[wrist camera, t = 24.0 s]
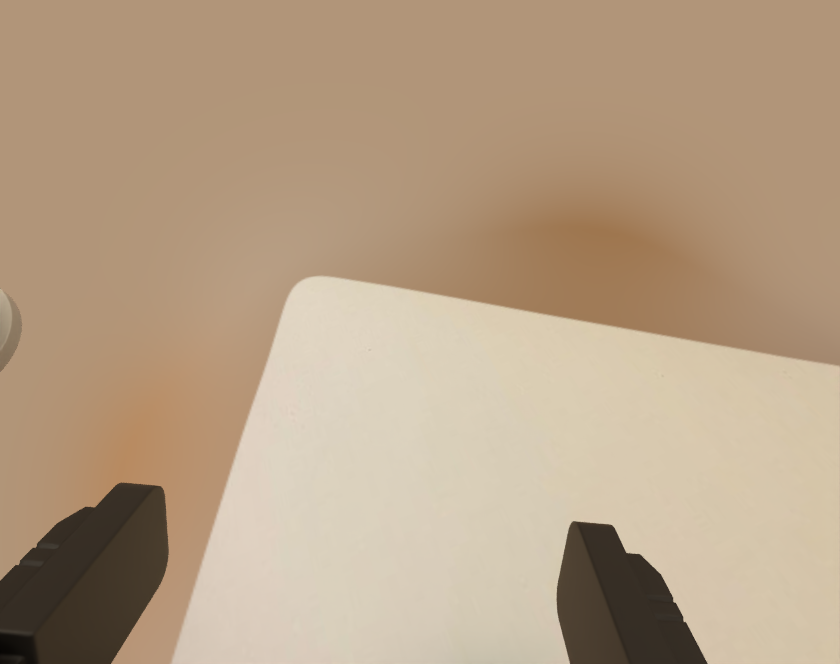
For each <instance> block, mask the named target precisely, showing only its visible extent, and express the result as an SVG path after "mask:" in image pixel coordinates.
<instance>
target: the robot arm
mask: <svg viewBox="0 0 840 664" xmlns="http://www.w3.org/2000/svg"><path fill="white" fill-rule="evenodd" d="M167 562H168V536H167V520H166V505H165V494H164V490H163V488H162V487H161V486H154V485H143V484H132V483H119V484H117V485H116V486H115V487H114V488H113V489H112V490H111V491H110V492H109V493H108V494H107V495H106V496H105V497H104V499H103V500H102V501H101V502H100V503H99V504H98V505H97V506H96V507H95V508H93V507H85V508H83V509H81V510H79V511H78V512H76V513H74V514H72V515H71V516H69V517H67V518H65V519H64V520H62V521H60V522H59V523H57V524H56V525H55V526H54V527H53V528H52V529H51V530H50V531H49V532H48V533H47V534H46V535H45V536H44V537H43V538H42V539H41V540H40V541H39V542H38V544H37V547H36V548H32V549H31V550H30V551H29V552H28V553H27V554H26V555H25V556H24V557H23V558H22V559H21V560H20V564H19V565H15V566H14V567H13V568H12V569H11V570H10V571H9V572H8V574H7V575H6V576H5V577H4V578H3V579H2V580H1V581H0V664H111V663H112V661H113V659H114V658H115V656H116V655H117V653H118V651H119V650H120V648H121V647H122V645H123V643H124V642H125V640H126V639H127V637H128V635H129V634H130V632H131V630H132V629H133V627H134V626H135V624H136V622H137V621H138V619H139V618H140V616H141V614H142V613H143V611H144V610H145V608H146V606H147V605H148V603H149V602H150V600H151V598H152V597H153V595H154V593H155V592H156V590H157V589H158V587H159V585H160V583H161V581H162V579H163V577H164V574H165V571H166V566H167ZM557 611H558V618H559V622H560V626H561V630H562V634H563V637H564V641H565V645H566V649H567V653H568V657H569V661H570V664H707V662H706V660H705V658H704V656H703V654H702V652H701V650H700V648H699V646H698V645H697V643H696V641H695V639H694V637H693V635H692V633H691V631H690V629H689V627H688V625H687V623H686V622H684V621H683V616H682V614H681V612H680V610H679V608H678V606H677V604H676V603H674V602H673V597H672V595H671V593H670V591H669V589H668V587H667V585H666V583H665V581H664V579H663V578H662V576H661V574H660V573H659V572H658V571H657V570H656V569H655V568H654V567H652V566H651V565H650V564H649V563H648V562H647V561H646V560H645V559H644V558H643V557H642V556H641V555H640V554H630V553H626V551H625V549H624V547H623V545H622V543H621V541H620V539H619V536H618V534H617V532H616V530H615V528H614V527H613V526H612V525H609V524H597V523H586V522H575V521H573V522H572V523H571V525H570V527H569V531H568V535H567V540H566V545H565V550H564V555H563V560H562V565H561V570H560V575H559V580H558V586H557Z"/></svg>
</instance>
